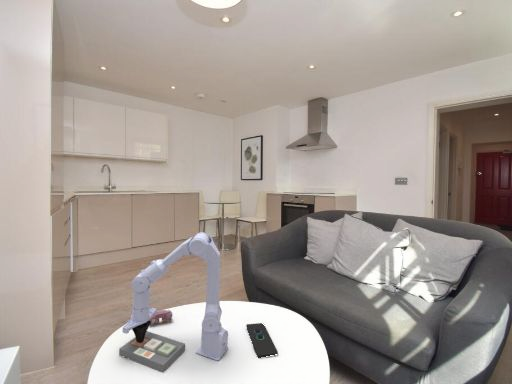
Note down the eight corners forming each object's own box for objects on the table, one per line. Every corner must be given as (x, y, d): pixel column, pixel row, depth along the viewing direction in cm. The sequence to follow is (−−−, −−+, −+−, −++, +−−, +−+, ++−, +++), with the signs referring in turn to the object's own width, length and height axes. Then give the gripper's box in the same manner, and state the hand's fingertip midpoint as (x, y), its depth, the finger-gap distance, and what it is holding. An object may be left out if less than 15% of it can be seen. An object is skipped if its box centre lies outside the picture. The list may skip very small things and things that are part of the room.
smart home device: (263, 322, 117) (278, 352, 97) (263, 326, 117) (278, 357, 97) (245, 324, 114) (257, 355, 95) (245, 327, 115) (257, 359, 95)
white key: (162, 345, 96) (162, 341, 96) (153, 352, 92) (153, 348, 92) (152, 342, 98) (152, 338, 97) (143, 349, 93) (143, 345, 93)
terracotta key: (149, 343, 98) (149, 339, 98) (140, 350, 94) (140, 346, 94) (139, 340, 100) (139, 336, 100) (130, 347, 95) (130, 343, 95)
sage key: (175, 350, 94) (176, 346, 94) (167, 357, 90) (167, 353, 90) (165, 346, 95) (165, 342, 95) (157, 354, 91) (157, 349, 91)
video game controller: (148, 328, 111) (149, 318, 108) (147, 319, 115) (148, 308, 111) (172, 324, 116) (174, 314, 113) (170, 314, 119) (172, 304, 116)
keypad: (184, 350, 97) (185, 343, 97) (163, 372, 86) (163, 364, 86) (144, 336, 104) (144, 329, 104) (119, 355, 92) (119, 347, 92)
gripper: (147, 295, 104) (145, 328, 105) (116, 312, 90) (115, 350, 91) (161, 299, 102) (160, 332, 102) (132, 317, 88) (130, 356, 89)
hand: (139, 341), depth 97 cm, fingers closed, pressing on terracotta key
